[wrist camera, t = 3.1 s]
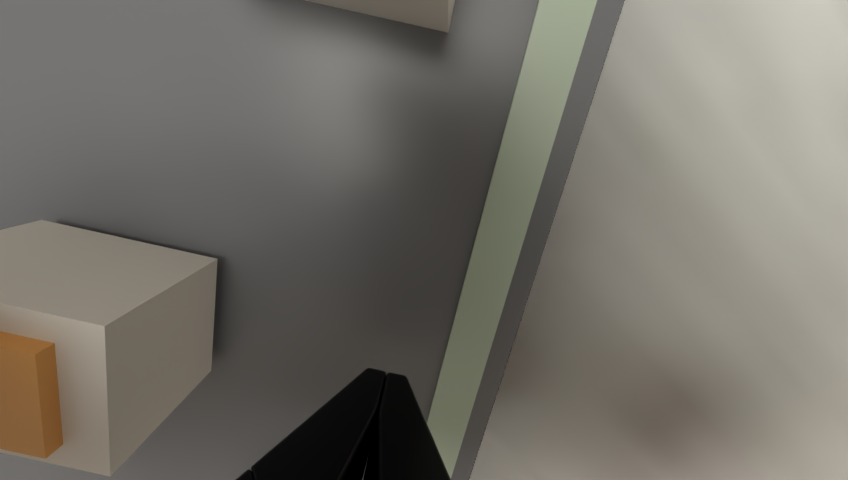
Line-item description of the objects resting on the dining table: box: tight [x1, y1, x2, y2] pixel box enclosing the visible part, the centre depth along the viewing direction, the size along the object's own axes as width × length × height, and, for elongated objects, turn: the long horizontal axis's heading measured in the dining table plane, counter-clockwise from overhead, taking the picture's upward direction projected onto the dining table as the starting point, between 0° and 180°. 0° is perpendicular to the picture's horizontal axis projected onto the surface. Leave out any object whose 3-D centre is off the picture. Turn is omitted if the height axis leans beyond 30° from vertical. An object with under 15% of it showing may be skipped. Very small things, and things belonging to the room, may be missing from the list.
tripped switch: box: [0, 220, 218, 477], centre depth 8 cm, size 4×3×3 cm
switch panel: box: [0, 0, 624, 480], centre depth 9 cm, size 18×22×5 cm
